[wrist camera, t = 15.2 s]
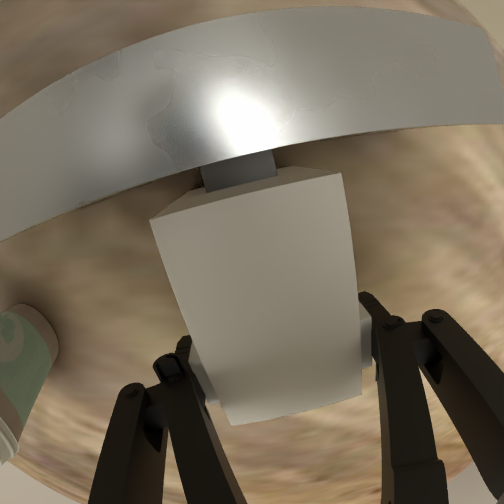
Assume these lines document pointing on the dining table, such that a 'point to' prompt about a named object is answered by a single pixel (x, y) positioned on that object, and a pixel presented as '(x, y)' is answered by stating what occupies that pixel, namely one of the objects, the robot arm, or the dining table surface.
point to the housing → (237, 100)
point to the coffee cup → (22, 370)
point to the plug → (266, 285)
